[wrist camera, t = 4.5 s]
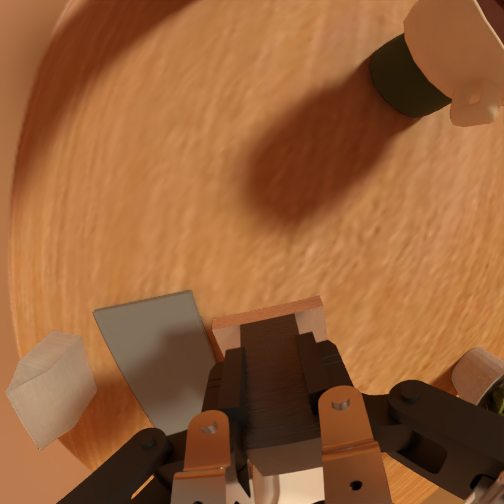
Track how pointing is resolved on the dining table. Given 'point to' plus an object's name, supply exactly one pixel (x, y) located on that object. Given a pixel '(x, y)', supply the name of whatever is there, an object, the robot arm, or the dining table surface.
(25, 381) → the tea bag
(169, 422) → the mat
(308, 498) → the photo printer
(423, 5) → the character mug
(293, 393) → the grey l-shaped piece
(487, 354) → the house plant
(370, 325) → the dining table surface
